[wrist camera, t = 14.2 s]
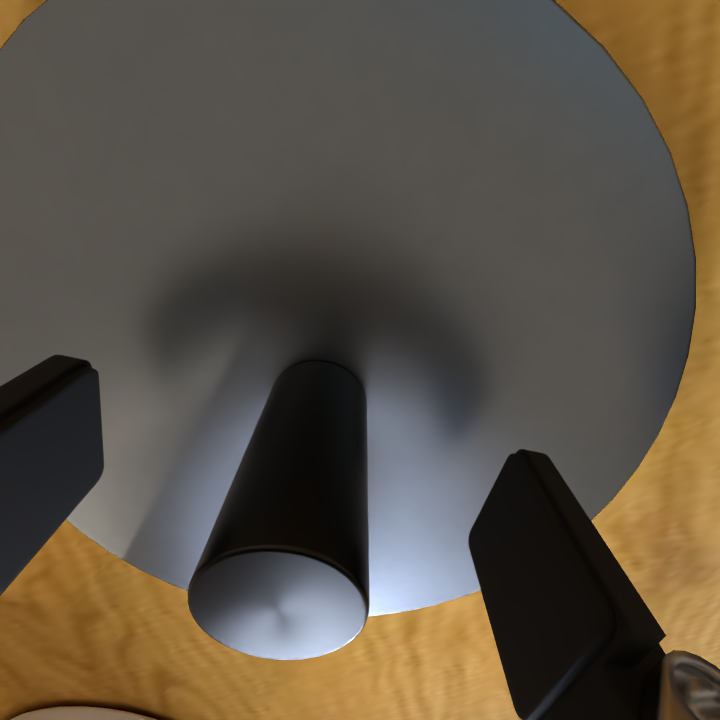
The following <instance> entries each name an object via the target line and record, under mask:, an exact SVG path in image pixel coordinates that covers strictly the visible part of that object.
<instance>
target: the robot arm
mask: <svg viewBox="0 0 720 720" xmlns="http://www.w3.org/2000/svg"><path fill="white" fill-rule="evenodd" d="M103 470H104V453H103V436H102V419H101V403H100V386H99V374H98V371H97V370H96V369H94V368H92V365H91V364H90V362H89V361H87V360H84V359H79V358H74V357H69V356H64V355H53V356H51V357H49V358H47V359H46V360H44V361H42V362H41V363H39V364H37V365H35V366H34V367H32V368H30V369H29V370H27V371H25V372H24V373H22V374H20V375H18V376H17V377H15V378H13V379H12V380H10V381H8V382H7V383H5V384H3V385H1V386H0V595H1V594H2V593H3V592H4V591H5V590H6V588H7V587H8V586H9V585H10V584H11V583H12V581H13V580H14V579H15V578H16V577H17V576H18V574H19V573H20V572H21V571H22V570H23V569H24V567H25V566H26V565H27V564H28V563H29V562H30V560H31V559H32V558H33V557H34V556H35V555H36V553H37V552H38V551H39V550H40V549H41V548H42V546H43V545H44V544H45V543H46V542H47V541H48V539H49V538H50V537H51V536H52V535H53V534H54V533H55V531H56V530H57V529H58V528H59V527H60V526H61V524H62V523H63V522H64V521H65V520H66V519H67V517H68V516H69V515H70V514H71V513H72V512H73V510H74V509H75V508H76V507H77V506H78V505H79V503H80V502H81V501H82V500H83V499H84V498H85V496H86V495H87V494H88V493H89V492H90V491H91V489H92V488H93V487H94V486H95V485H96V484H97V482H98V481H99V479H100V478H101V476H102V473H103ZM468 544H469V549H470V553H471V556H472V560H473V563H474V567H475V571H476V574H477V578H478V581H479V585H480V588H481V592H482V595H483V599H484V602H485V606H486V609H487V613H488V617H489V620H490V624H491V627H492V631H493V634H494V638H495V641H496V645H497V648H498V652H499V655H500V659H501V662H502V666H503V670H504V673H505V677H506V680H507V684H508V687H509V691H510V694H511V698H512V701H513V705H514V708H515V711H516V713H517V715H518V716H519V717H520V718H521V719H522V720H720V669H719V668H717V667H716V666H715V665H713V664H711V663H710V662H708V661H706V660H705V659H703V658H701V657H700V656H697V655H694V654H692V653H689V652H686V651H675V650H673V651H672V652H670V653H668V654H665V653H664V651H663V649H662V648H661V646H660V645H659V642H660V641H661V640H662V639H663V638H664V637H665V636H666V635H665V633H664V632H663V630H662V629H661V627H660V626H659V624H658V623H657V621H656V619H655V618H654V616H653V615H652V613H651V612H650V610H649V609H648V607H647V606H646V604H645V603H644V601H643V600H642V598H641V597H640V595H639V594H638V592H637V590H636V589H635V587H634V586H633V584H632V583H631V581H630V580H629V578H628V577H627V575H626V574H625V572H624V571H623V569H622V568H621V566H620V565H619V563H618V561H617V560H616V558H615V557H614V555H613V554H612V552H611V551H610V549H609V548H608V546H607V545H606V543H605V542H604V540H603V539H602V537H601V536H600V534H599V532H598V531H597V529H596V528H595V526H594V525H593V523H592V522H591V520H590V519H589V517H588V516H587V514H586V513H585V511H584V510H583V508H582V507H581V505H580V503H579V502H578V500H577V499H576V497H575V496H574V494H573V493H572V491H571V490H570V488H569V487H568V485H567V484H566V482H565V481H564V479H563V477H562V476H561V474H560V473H559V471H558V470H557V468H556V467H555V465H554V464H553V462H552V461H551V459H550V458H549V457H548V455H547V454H544V453H540V452H535V451H530V450H525V449H519V450H518V451H517V452H516V453H515V454H514V453H513V454H510V455H509V456H508V458H507V459H506V461H505V463H504V465H503V467H502V469H501V471H500V473H499V475H498V477H497V479H496V481H495V483H494V485H493V487H492V489H491V491H490V493H489V495H488V497H487V499H486V501H485V503H484V505H483V507H482V509H481V511H480V513H479V515H478V516H477V518H476V520H475V522H474V524H473V526H472V528H471V530H470V533H469V539H468ZM10 720H157V719H154V718H150V717H147V716H143V715H139V714H135V713H131V712H126V711H120V710H114V709H108V708H98V707H85V706H69V707H53V708H45V709H38V710H35V711H31V712H27V713H23V714H21V715H19V716H17V717H15V718H13V719H10Z"/></svg>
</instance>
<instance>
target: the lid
mask: <svg viewBox="0 0 720 720" xmlns="http://www.w3.org/2000/svg"><path fill="white" fill-rule="evenodd" d="M695 309H696V256H695V250H694V243H693V237H692V230H691V224H690V217H689V211H688V205H687V202H686V199H685V196H684V193H683V190H682V186H681V183H680V180H679V177H678V174H677V171H676V168H675V165H674V162H673V159H672V155H671V152H670V150H669V148H668V146H667V145H666V143H665V141H664V139H663V137H662V135H661V133H660V131H659V129H658V127H657V125H656V123H655V121H654V119H653V117H652V115H651V114H650V112H649V110H648V108H647V106H646V104H645V102H644V100H643V98H642V97H641V95H640V94H639V93H638V91H637V90H636V89H635V87H634V86H633V85H632V84H631V82H630V81H629V80H628V78H627V77H626V76H625V74H624V73H623V72H622V70H621V69H620V68H619V66H618V65H617V64H616V62H615V61H614V60H613V58H612V57H611V56H610V54H609V53H608V52H607V50H606V49H605V48H604V46H603V45H602V44H600V43H599V42H598V41H597V40H596V39H595V38H594V37H593V36H592V35H591V34H590V33H589V32H588V31H587V30H586V29H585V28H583V27H582V26H581V25H580V24H579V23H578V22H577V21H576V20H575V19H574V18H573V17H572V16H571V15H570V14H569V13H568V12H566V11H565V10H564V9H563V8H562V7H561V6H560V5H559V4H558V3H557V2H556V1H555V0H46V1H45V2H44V3H43V4H42V5H41V6H39V7H38V8H37V9H36V10H35V11H34V12H32V13H31V14H30V15H29V16H28V17H27V18H25V19H24V20H23V21H22V22H21V24H20V25H19V26H18V28H17V29H16V30H15V31H14V33H13V34H12V35H11V36H10V38H9V39H8V40H7V41H6V43H5V44H4V45H3V46H2V48H1V49H0V386H1V385H3V384H5V383H7V382H8V381H10V380H12V379H13V378H15V377H17V376H18V375H20V374H22V373H24V372H25V371H27V370H29V369H30V368H32V367H34V366H35V365H37V364H39V363H41V362H42V361H44V360H46V359H47V358H49V357H51V356H53V355H64V356H69V357H74V358H79V359H84V360H87V361H89V362H90V364H91V365H92V368H94V369H96V370H97V371H98V374H99V386H100V403H101V419H102V436H103V453H104V470H103V473H102V476H101V478H100V479H99V481H98V482H97V484H96V485H95V486H94V487H93V488H92V489H91V491H90V492H89V493H88V494H87V495H86V496H85V498H84V499H83V500H82V501H81V502H80V503H79V505H78V506H77V507H76V508H75V509H74V510H73V512H72V513H71V514H70V515H69V516H68V517H67V519H66V520H67V521H68V522H69V523H70V524H72V525H73V526H74V527H75V528H76V529H77V530H79V531H80V532H81V533H83V534H84V535H86V536H87V537H89V538H90V539H91V540H93V541H94V542H96V543H97V544H99V545H100V546H101V547H103V548H104V549H106V550H107V551H109V552H110V553H112V554H113V555H115V556H117V557H119V558H120V559H122V560H124V561H126V562H127V563H129V564H131V565H133V566H134V567H136V568H138V569H140V570H141V571H144V572H146V573H148V574H150V575H152V576H154V577H156V578H159V579H161V580H163V581H165V582H167V583H169V584H171V585H174V586H176V587H179V588H182V589H184V590H187V591H188V605H189V609H190V612H191V614H192V616H193V618H194V619H195V621H196V622H197V624H198V625H199V626H200V627H201V628H202V629H203V630H204V631H205V632H206V633H207V634H208V635H209V636H211V637H212V638H213V639H215V640H216V641H218V642H220V643H221V644H223V645H225V646H227V647H229V648H231V649H234V650H236V651H239V652H242V653H245V654H248V655H252V656H256V657H261V658H267V659H276V660H299V659H307V658H313V657H318V656H321V655H325V654H328V653H331V652H333V651H336V650H338V649H340V648H341V647H343V646H345V645H346V644H348V643H349V642H351V641H352V640H353V639H354V638H355V637H356V636H357V635H358V634H359V633H360V631H361V630H362V629H363V627H364V625H365V623H366V620H367V617H368V616H375V615H383V614H390V613H398V612H405V611H409V610H414V609H419V608H423V607H428V606H432V605H437V604H440V603H443V602H446V601H450V600H453V599H456V598H459V597H463V596H466V595H469V594H471V593H474V592H476V591H479V590H481V588H480V585H479V581H478V578H477V574H476V571H475V567H474V563H473V560H472V556H471V553H470V549H469V544H468V539H469V533H470V530H471V528H472V526H473V524H474V522H475V520H476V518H477V516H478V515H479V513H480V511H481V509H482V507H483V505H484V503H485V501H486V499H487V497H488V495H489V493H490V491H491V489H492V487H493V485H494V483H495V481H496V479H497V477H498V475H499V473H500V471H501V469H502V467H503V465H504V463H505V461H506V459H507V458H508V456H509V455H510V454H513V453H514V454H515V453H516V452H517V451H518V450H519V449H525V450H530V451H535V452H540V453H544V454H547V455H548V457H549V458H550V459H551V461H552V462H553V464H554V465H555V467H556V468H557V470H558V471H559V473H560V474H561V476H562V477H563V479H564V481H565V482H566V484H567V485H568V487H569V488H570V490H571V491H572V493H573V494H574V496H575V497H576V499H577V500H578V502H579V503H580V505H581V507H582V508H583V510H584V511H585V513H586V514H587V516H588V517H589V519H590V520H592V519H593V518H594V517H595V516H596V515H597V514H598V513H599V512H600V511H601V510H602V509H603V508H604V507H605V506H606V505H607V504H608V503H609V502H610V501H611V500H612V499H613V498H614V497H615V496H616V495H617V493H618V492H619V491H620V490H621V488H622V487H623V486H624V485H625V483H626V482H627V481H628V480H629V478H630V477H631V476H632V475H633V473H634V472H635V471H636V470H637V468H638V467H639V465H640V463H641V462H642V460H643V459H644V457H645V455H646V454H647V452H648V450H649V449H650V447H651V446H652V444H653V442H654V441H655V439H656V438H657V436H658V434H659V432H660V430H661V428H662V426H663V423H664V421H665V419H666V417H667V415H668V412H669V410H670V408H671V406H672V404H673V401H674V399H675V397H676V394H677V391H678V388H679V384H680V381H681V378H682V374H683V371H684V368H685V364H686V361H687V358H688V354H689V348H690V342H691V335H692V329H693V322H694V316H695Z"/></svg>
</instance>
